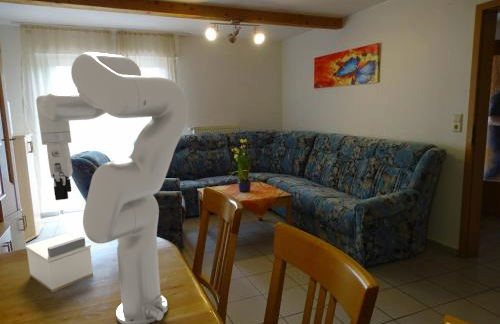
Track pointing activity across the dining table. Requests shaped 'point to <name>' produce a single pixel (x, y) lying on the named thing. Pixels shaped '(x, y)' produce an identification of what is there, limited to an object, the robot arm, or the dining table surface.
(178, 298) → the dining table surface
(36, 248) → the carton lid
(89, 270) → the carton
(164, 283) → the dining table surface
